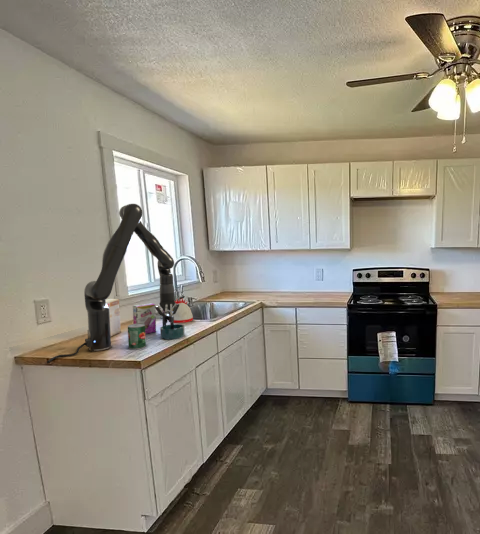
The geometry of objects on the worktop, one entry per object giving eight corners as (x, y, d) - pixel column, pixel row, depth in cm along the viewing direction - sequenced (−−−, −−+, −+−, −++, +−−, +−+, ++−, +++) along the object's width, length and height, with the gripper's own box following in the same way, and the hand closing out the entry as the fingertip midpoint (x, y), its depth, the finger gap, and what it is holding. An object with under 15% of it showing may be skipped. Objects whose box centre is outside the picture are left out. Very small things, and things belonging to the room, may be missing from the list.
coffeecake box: (109, 331, 201) (108, 298, 200) (121, 332, 201) (119, 298, 199) (92, 339, 187) (90, 303, 185) (104, 339, 186) (102, 303, 184)
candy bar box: (137, 336, 192) (136, 306, 191) (133, 334, 195) (132, 305, 194) (156, 331, 201) (155, 303, 199) (152, 330, 204) (151, 302, 203)
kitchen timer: (170, 319, 233) (169, 297, 232) (192, 317, 238) (191, 295, 237) (171, 323, 220) (170, 300, 219) (193, 321, 225) (192, 298, 224)
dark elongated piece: (180, 333, 190) (179, 317, 189) (171, 334, 187) (170, 318, 186) (168, 327, 202) (167, 312, 201) (159, 329, 198) (159, 314, 198)
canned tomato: (147, 347, 171) (146, 325, 170) (129, 350, 167) (128, 327, 166) (144, 343, 178) (143, 322, 177) (127, 346, 174) (126, 324, 173)
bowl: (166, 341, 182) (165, 330, 181) (157, 336, 191) (156, 326, 191) (188, 336, 190) (188, 326, 190) (178, 332, 199) (178, 322, 199)
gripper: (176, 290, 201) (177, 319, 203) (151, 292, 192) (153, 323, 193) (181, 291, 196) (182, 321, 197) (157, 293, 187) (158, 325, 188)
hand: (168, 322), depth 195 cm, fingers closed on dark elongated piece
